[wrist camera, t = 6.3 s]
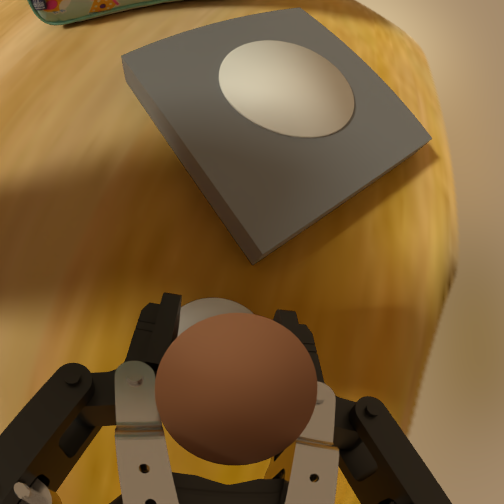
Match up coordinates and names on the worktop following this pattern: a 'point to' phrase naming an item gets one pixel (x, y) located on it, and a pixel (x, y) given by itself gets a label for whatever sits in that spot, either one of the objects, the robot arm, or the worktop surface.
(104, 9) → the lunch box
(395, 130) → the plate
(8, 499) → the robot arm
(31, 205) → the worktop surface
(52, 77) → the worktop surface
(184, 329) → the handle
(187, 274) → the worktop surface
